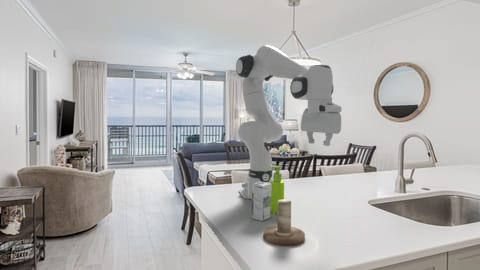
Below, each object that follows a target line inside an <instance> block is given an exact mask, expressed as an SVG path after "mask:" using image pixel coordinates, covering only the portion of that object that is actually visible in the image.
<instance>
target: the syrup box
mask: <svg viewBox="0 0 480 270" xmlns="http://www.w3.org/2000/svg"><path fill="white" fill-rule="evenodd" d="M271 213H272V212H271V184H270V183H267V182H258V183H254V184H252V199H251V219H252V220H256V221H260V222H265V221H266V220H268V219H269V220H270V219H271V216H272V215H271Z"/></svg>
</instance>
